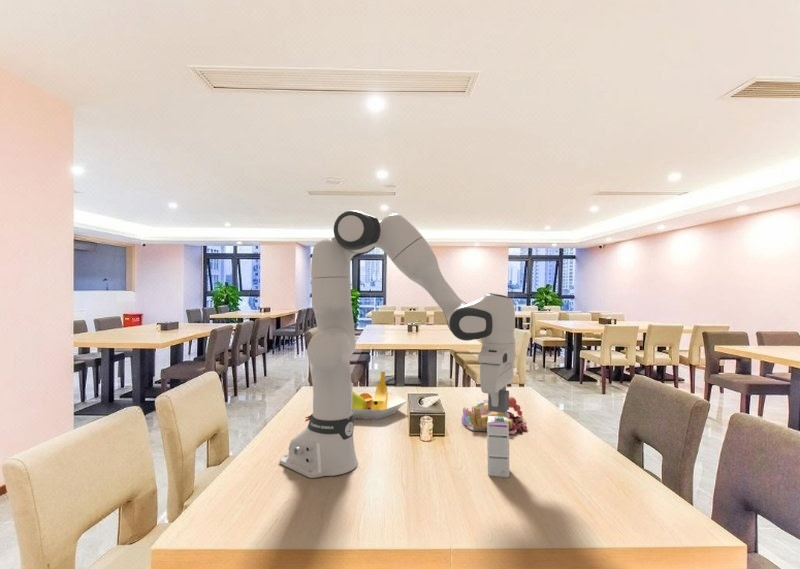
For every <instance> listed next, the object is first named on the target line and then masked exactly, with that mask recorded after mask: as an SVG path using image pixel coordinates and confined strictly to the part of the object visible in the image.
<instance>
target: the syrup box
mask: <svg viewBox="0 0 800 569" xmlns="http://www.w3.org/2000/svg"><path fill="white" fill-rule="evenodd" d="M486 433H487V434H486V437H487V439H486V443H487V444H486V445H487V476H490V477H499V478H510V434H509V423H508V418H507V417H503V416H488V419H487V431H486Z"/></svg>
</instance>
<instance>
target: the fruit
mask: <svg viewBox="0 0 800 569" xmlns="http://www.w3.org/2000/svg"><path fill="white" fill-rule="evenodd" d="M380 372H381V373H380V380H379V382H378V384H377V386H376V387H375V388H376V389H375V391H361V390H359V391H358V390H357V391H356V392H354V391H353V390H352V413H353V414H354V419H355V418H366V419H365V420H382V419H384V418H386V417H388V415H389V416H391V415H393V414H395V413H396V412H397V411H398V410H399V409H401V407H403V406H404V405H405V404H406V403H407V402H408V401H407V400H406V399H404V398H403V397H401V396H398V395H397V394H396V393H395V392H392V391H391V392H389V391H388V387H387V385H386V372H385V371H380ZM387 405H388V406H389V407H390V408H387ZM368 408H369V409H368ZM394 412H395V413H394ZM392 413H393V414H392ZM390 414H391V415H390ZM385 416H386V417H385ZM383 417H384V418H383ZM381 418H382V419H381Z"/></svg>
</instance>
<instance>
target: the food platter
mask: <svg viewBox="0 0 800 569" xmlns="http://www.w3.org/2000/svg"><path fill="white" fill-rule="evenodd" d="M509 409H513V411H514V412H517V415H514V413H513V412H511V411H507V412H506V413H500V412H493V411H488V398H487V399H486V398H484V399H483V400H482V401H478V402H477V404H476V406H472V407H471V409H469V408H468V407H465V406H464V407H463V408H462V415H461V423H462V425H463V427H464V426H465V427H466V428H467V429H469V430H471V431H477V432H478V431H480V432H484V431H485V432H487V419H488V416H503V417H507V418H508V423H509V435H511V434H512V435H515V434H516V433H517V432H518V433H520V434H523V431H525V432H526V431H527V428H528V426H527V425H526V419H524V417H523V411H522V410H521V406H520V404H517V400H516V399H515V397H513V396H509Z"/></svg>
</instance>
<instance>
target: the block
mask: <svg viewBox="0 0 800 569" xmlns="http://www.w3.org/2000/svg"><path fill="white" fill-rule="evenodd" d="M487 395H488V398H487V399H488V411H493V412H500V413H506V412H509V409H510V407H509V397H510V391H509V390H507V389H506V390H499V394H498V397H499V405H498V406H497V407H495V406H492V405H491V397H490V394H487Z"/></svg>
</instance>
